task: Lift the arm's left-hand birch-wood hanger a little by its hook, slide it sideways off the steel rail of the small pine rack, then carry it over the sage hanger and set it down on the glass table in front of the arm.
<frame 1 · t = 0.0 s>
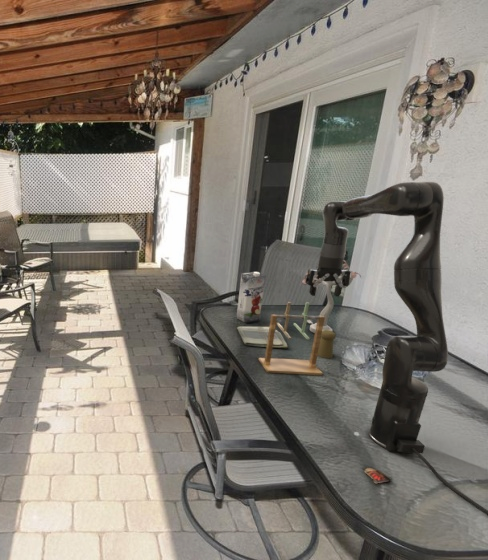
hand: (324, 295, 137), 29 cm above the table, tool pointing down, fingers open, 8 cm apart
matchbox: (375, 476, 91), on the table
hanger 2: (286, 316, 136), point 22 cm above the table, touching rack
decorative tree: (318, 330, 174), on the table
pale green square plate: (261, 339, 166), on the table
hanger 1: (304, 317, 135), point 22 cm above the table, touching rack
cork: (324, 355, 151), on the table
rack: (289, 367, 142), on the table
juice carton: (247, 320, 188), on the table
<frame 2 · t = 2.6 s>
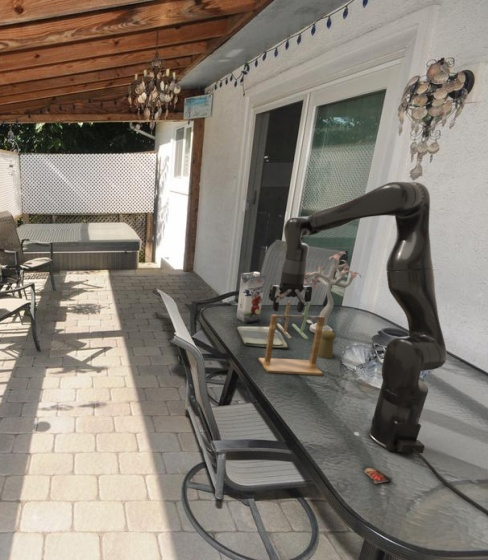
hand: (287, 311, 136), 24 cm above the table, tool pointing down, fingers open, 8 cm apart
hanger 1: (304, 317, 135), point 22 cm above the table, tilted 6°, touching gripper, rack
everything else where it was.
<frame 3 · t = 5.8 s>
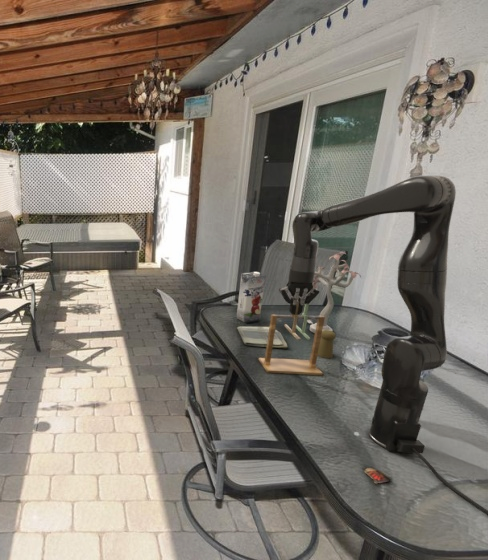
hand: (295, 313, 129), 26 cm above the table, tool pointing down, fingers closed on hanger 2, 1 cm apart
hanger 2: (294, 316, 130), point 25 cm above the table, touching gripper
hanger 1: (304, 317, 135), point 22 cm above the table, touching rack
everything else where it was.
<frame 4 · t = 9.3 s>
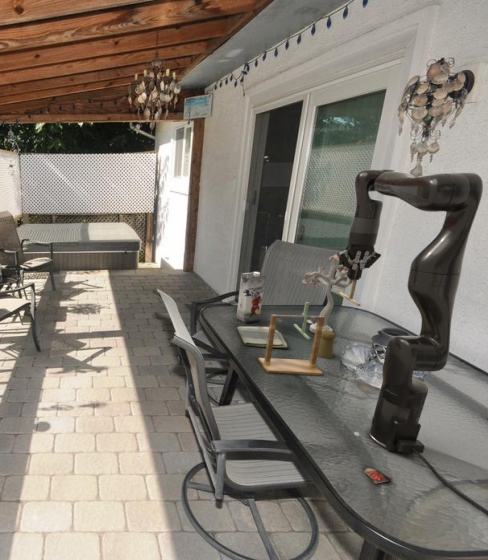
hand: (353, 279, 124), 39 cm above the table, tool pointing down, fingers closed on hanger 2, 1 cm apart
hanger 2: (352, 282, 125), point 38 cm above the table, touching gripper
everything else where it was.
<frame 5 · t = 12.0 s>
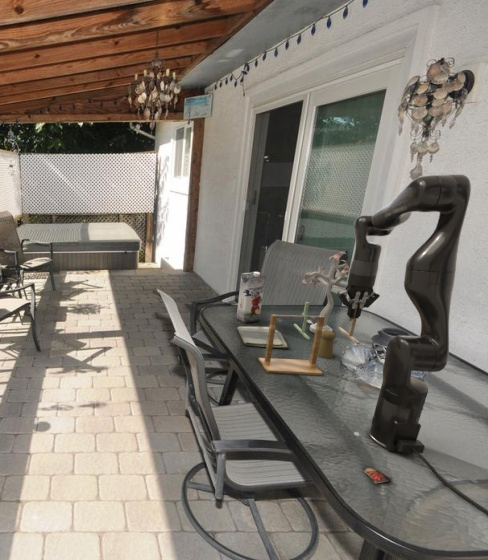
hand: (353, 317, 129), 24 cm above the table, tool pointing down, fingers closed on hanger 2, 1 cm apart
hanger 2: (352, 320, 129), point 23 cm above the table, touching gripper
everything else where it was.
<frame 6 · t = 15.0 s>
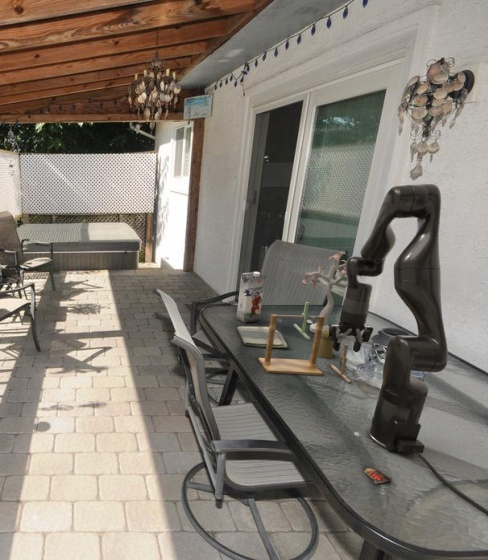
hand: (345, 350, 133), 10 cm above the table, tool pointing down, fingers open, 6 cm apart
hanger 2: (343, 359, 134), point 7 cm above the table
everything else where it was.
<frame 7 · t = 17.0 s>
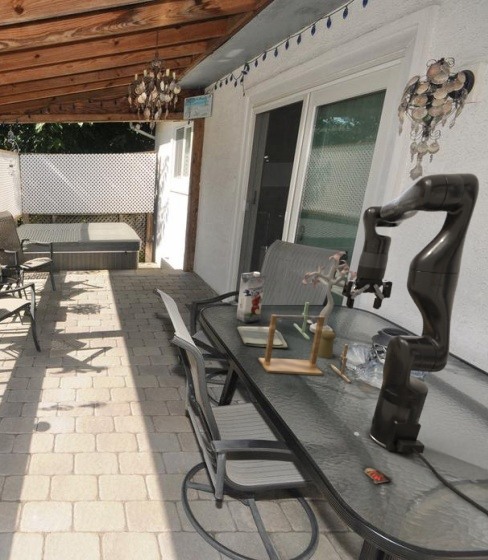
hand: (362, 308, 126), 28 cm above the table, tool pointing down, fingers open, 8 cm apart
nothing on the table moved.
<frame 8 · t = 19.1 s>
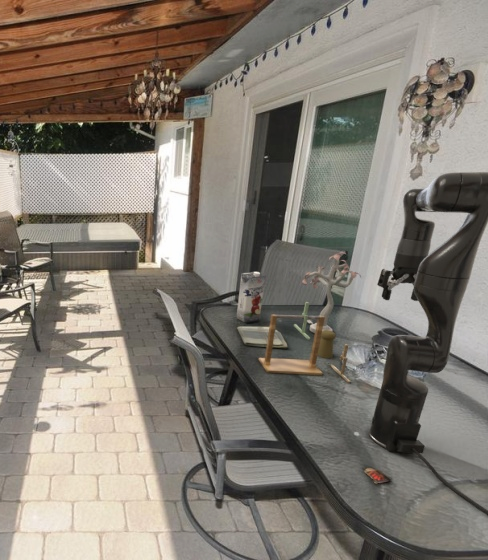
hand: (400, 299, 117), 34 cm above the table, tool pointing down, fingers open, 8 cm apart
nothing on the table moved.
at the end: hanger 2 inside the target area (0.2 cm from its centre), point 6.6 cm above the table; the gripper is holding nothing; hanger 1 0.0 cm from the target spot, point 22.0 cm above the table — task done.
